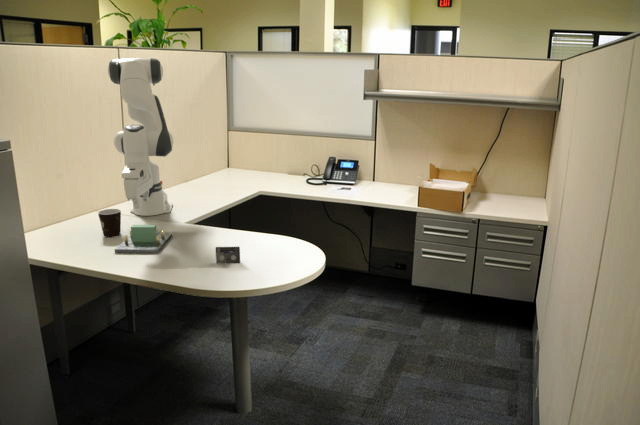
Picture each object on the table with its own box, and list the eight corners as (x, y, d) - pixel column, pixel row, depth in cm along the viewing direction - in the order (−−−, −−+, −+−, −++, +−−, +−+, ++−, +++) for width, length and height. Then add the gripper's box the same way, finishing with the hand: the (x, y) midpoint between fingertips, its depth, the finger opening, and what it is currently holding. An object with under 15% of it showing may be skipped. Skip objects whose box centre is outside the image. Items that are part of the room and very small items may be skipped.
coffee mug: (101, 233, 221) (98, 209, 218) (123, 230, 224) (120, 208, 221) (100, 241, 210) (97, 217, 208) (123, 239, 213) (121, 215, 210)
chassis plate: (134, 236, 217) (132, 225, 216) (173, 236, 217) (172, 225, 215) (114, 253, 198) (113, 241, 196) (157, 253, 197) (156, 241, 196)
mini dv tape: (240, 262, 189) (239, 246, 187) (239, 263, 188) (239, 247, 186) (217, 262, 189) (216, 246, 187) (216, 263, 187) (215, 247, 186)
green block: (134, 239, 208) (133, 224, 207) (157, 239, 208) (156, 224, 206) (132, 241, 205) (130, 227, 204) (155, 242, 205) (153, 227, 204)
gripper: (139, 163, 209) (142, 197, 213) (119, 174, 189) (123, 212, 193) (155, 163, 209) (158, 197, 213) (137, 175, 189) (140, 212, 193)
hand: (141, 204), depth 203 cm, fingers open, 8 cm apart
